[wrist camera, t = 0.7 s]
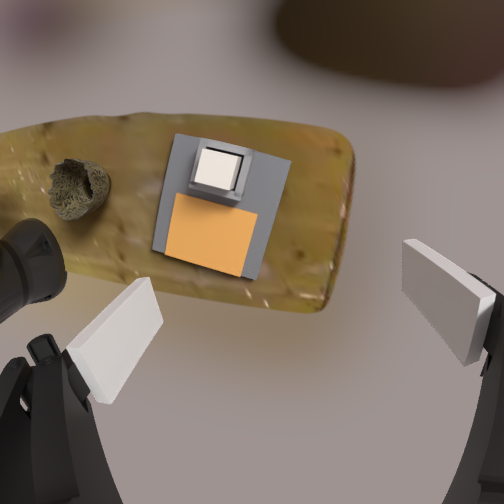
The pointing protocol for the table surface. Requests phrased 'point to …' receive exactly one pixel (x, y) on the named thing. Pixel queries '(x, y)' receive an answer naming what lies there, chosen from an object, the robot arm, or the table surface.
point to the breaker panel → (219, 208)
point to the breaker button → (218, 169)
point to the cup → (78, 188)
